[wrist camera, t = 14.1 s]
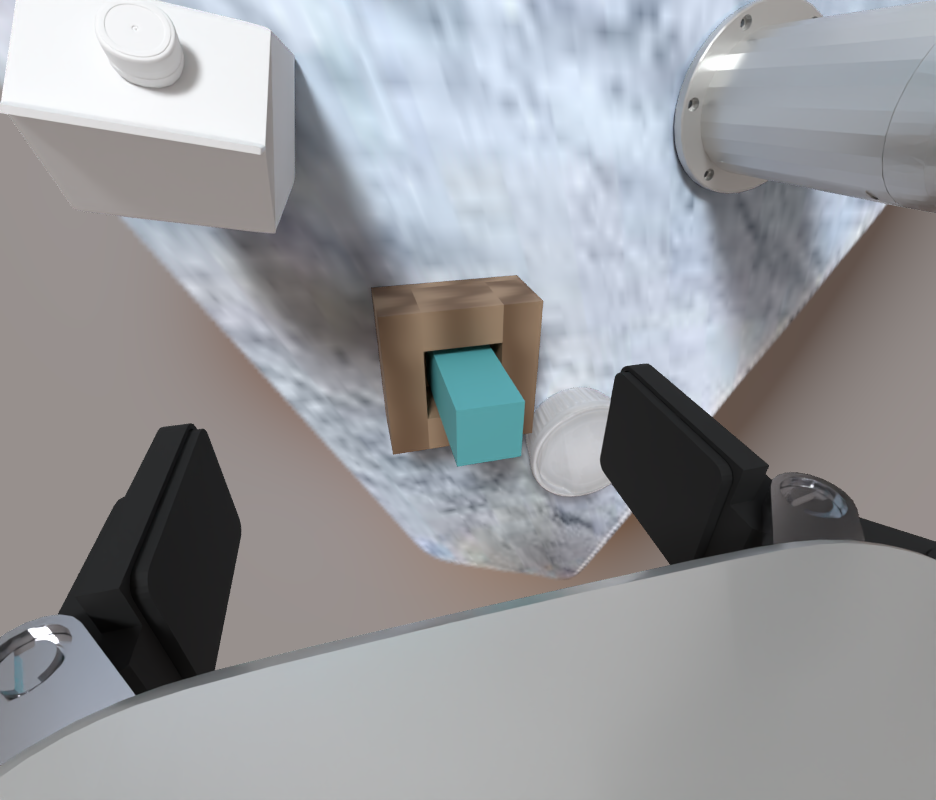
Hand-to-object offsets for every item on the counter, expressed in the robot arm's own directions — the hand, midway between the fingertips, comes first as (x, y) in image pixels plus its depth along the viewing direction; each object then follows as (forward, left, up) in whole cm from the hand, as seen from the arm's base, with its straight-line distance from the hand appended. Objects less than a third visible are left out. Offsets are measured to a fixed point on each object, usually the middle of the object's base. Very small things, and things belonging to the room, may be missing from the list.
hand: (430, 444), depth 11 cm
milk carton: (+7, -6, -28) cm, 30 cm away
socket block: (-6, +12, -28) cm, 31 cm away
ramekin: (-18, +22, -29) cm, 41 cm away
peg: (-6, +12, -27) cm, 30 cm away
